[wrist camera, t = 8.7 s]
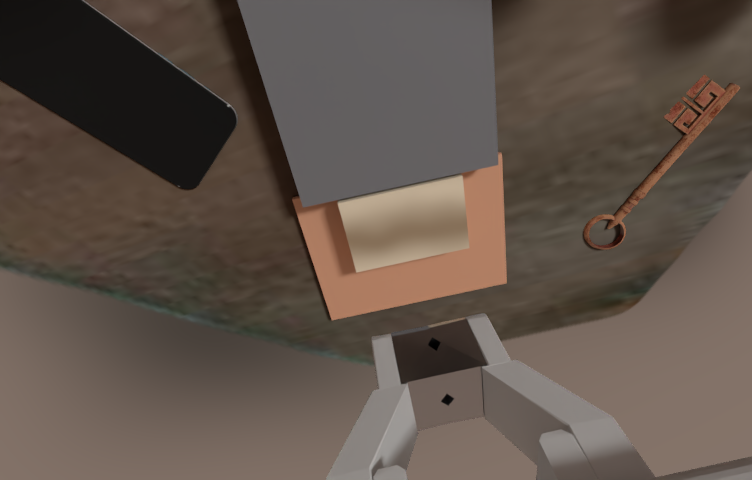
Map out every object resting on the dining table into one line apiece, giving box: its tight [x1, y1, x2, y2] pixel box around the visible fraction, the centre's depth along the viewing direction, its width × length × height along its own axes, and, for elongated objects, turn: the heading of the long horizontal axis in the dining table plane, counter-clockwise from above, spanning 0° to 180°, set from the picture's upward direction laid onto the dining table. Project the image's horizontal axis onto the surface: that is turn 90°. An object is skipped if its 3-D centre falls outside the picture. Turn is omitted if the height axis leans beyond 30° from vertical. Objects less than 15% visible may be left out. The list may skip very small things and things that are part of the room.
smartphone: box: [0, 0, 238, 189], centre depth 25 cm, size 7×1×15 cm
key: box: [583, 75, 740, 250], centre depth 31 cm, size 6×1×15 cm
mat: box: [292, 152, 507, 320], centre depth 32 cm, size 12×16×1 cm
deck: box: [237, 0, 498, 208], centre depth 24 cm, size 16×14×2 cm
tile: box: [338, 173, 469, 273], centre depth 30 cm, size 6×9×2 cm, turn 101°
